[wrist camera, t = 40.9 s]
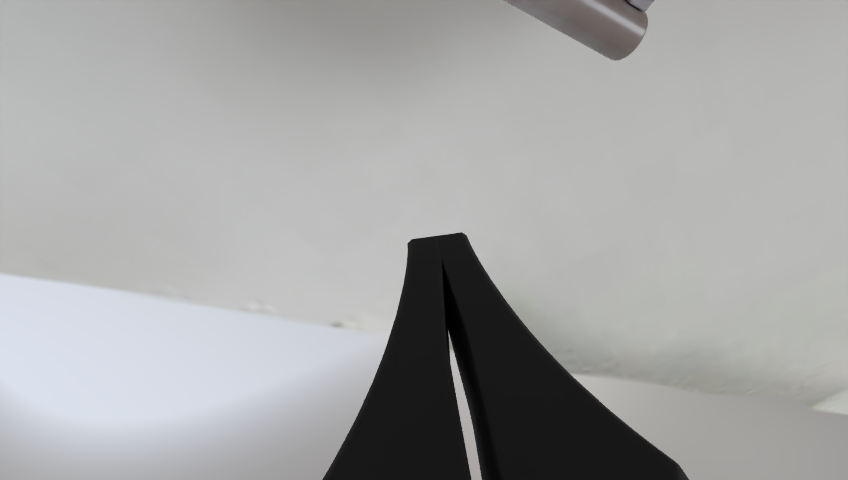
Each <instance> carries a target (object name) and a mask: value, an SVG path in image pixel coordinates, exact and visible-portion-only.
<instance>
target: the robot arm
mask: <svg viewBox="0 0 848 480" xmlns="http://www.w3.org/2000/svg"><path fill="white" fill-rule="evenodd" d="M448 330H449V334H450V338H451V342H452V346H453V349H454V353H455V357H456V360H457V364H458V368H459V372H460V376H461V380H462V383H463V387H464V391H465V395H466V398H467V402H468V406H469V410H470V415H471V419H472V424H473V429H474V434H475V440H476V446H477V452H478V458H479V464H480V470H481V476H482V480H689V479H688V478H687V476H686V475H685V473H684V472H683V470H682V469H681V467H680V466H679V465H678V464H677V463H676V462H675V461H674V460H672V459H671V458H669V457H668V456H667V455H666V454H664V453H663V452H662V451H660V450H658V449H657V448H656V447H655V446H653V445H652V444H651V443H649V442H648V441H647V440H646V439H644V438H643V437H642V436H640V435H639V434H638V433H637V432H635V431H634V430H633V429H632V428H630V427H629V426H628V425H627V424H625V423H624V422H623V421H622V420H621V419H620V418H618V417H617V416H616V415H615V414H614V413H612V412H611V411H610V410H609V409H608V408H606V407H605V406H604V405H603V404H602V403H601V402H599V400H598V399H596V398H595V397H594V396H593V395H592V394H591V393H590V392H589V391H588V390H586V389H585V388H584V387H583V386H582V385H581V384H580V383H579V382H578V381H577V380H576V379H574V378H573V377H572V376H571V375H570V374H569V373H568V372H567V371H566V370H565V369H564V368H563V367H562V366H561V365H560V364H559V363H558V362H557V361H556V360H555V358H554V357H553V356H552V355H551V354H550V353H549V352H548V351H547V350H546V349H545V348H544V347H543V346H542V345H541V343H540V342H539V341H538V340H537V339H536V338H535V337H534V335H533V334H532V333H531V332H530V331H529V330H528V328H527V327H526V326H525V325H524V323H523V322H522V321H521V320H520V318H519V317H518V316H517V315H516V314H515V312H514V311H513V310H512V308H511V307H510V306H509V304H508V303H507V302H506V300H505V299H504V298H503V296H502V295H501V293H500V292H499V290H498V289H497V288H496V286H495V285H494V283H493V282H492V280H491V279H490V277H489V276H488V274H487V273H486V271H485V269H484V268H483V266H482V265H481V263H480V261H479V260H478V258H477V256H476V254H475V252H474V250H473V249H472V247H471V245H470V243H469V240H468V238H467V236H466V235H465V234H463V233H455V234H448V235H440V236H433V237H426V238H418V239H412V240H411V241H410V242H409V243H408V258H407V267H406V274H405V279H404V285H403V289H402V294H401V298H400V302H399V306H398V310H397V314H396V318H395V321H394V324H393V327H392V331H391V334H390V337H389V340H388V344H387V346H386V349H385V352H384V355H383V358H382V360H381V363H380V365H379V368H378V370H377V373H376V375H375V378H374V380H373V383H372V385H371V387H370V389H369V392H368V394H367V396H366V398H365V400H364V403H363V405H362V407H361V409H360V411H359V413H358V416H357V418H356V420H355V422H354V424H353V426H352V427H351V429H350V431H349V433H348V435H347V437H346V439H345V441H344V442H343V444H342V446H341V448H340V450H339V452H338V454H337V455H336V457H335V459H334V461H333V463H332V464H331V466H330V468H329V470H328V471H327V473H326V475H325V476H324V478H323V480H471V476H470V470H469V464H468V459H467V454H466V448H465V443H464V438H463V432H462V427H461V422H460V416H459V410H458V405H457V399H456V393H455V388H454V382H453V376H452V371H451V365H450V351H449V336H448Z"/></svg>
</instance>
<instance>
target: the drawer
mask: <svg viewBox="0 0 848 480" xmlns="http://www.w3.org/2000/svg"><path fill="white" fill-rule="evenodd" d="M504 1H506V2H508V3H509V4H511V5H513V6H515V7H517V8H518V9H520V10H522V11H524V12H526V13H527V14H529V15H531V16H533V17H535V18H537V19H538V20H540V21H542V22H544V23H546V24H547V25H549V26H551V27H553V28H555V29H556V30H558V31H560V32H562V33H564V34H566V35H567V36H569V37H571V38H573V39H575V40H576V41H578V42H580V43H582V44H584V45H586V46H587V47H589V48H591V49H593V50H595V51H596V52H598V53H600V54H602V55H604V56H605V57H607V58H609V59H611V60H621V59H623V58H625V57H627V56H628V55H629V54H631V53H632V52H633V51H634V50H635V49H636V47H637V46H638V45H639V43H640V42H641V40H642V39H643V37H644V35H645V32H646V29H647V25H648V18H647V15H646V13H645V12H644V11H646V10H647V9H648V7H649V6H650V5H651V3H652V2H653V1H654V0H504Z"/></svg>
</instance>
